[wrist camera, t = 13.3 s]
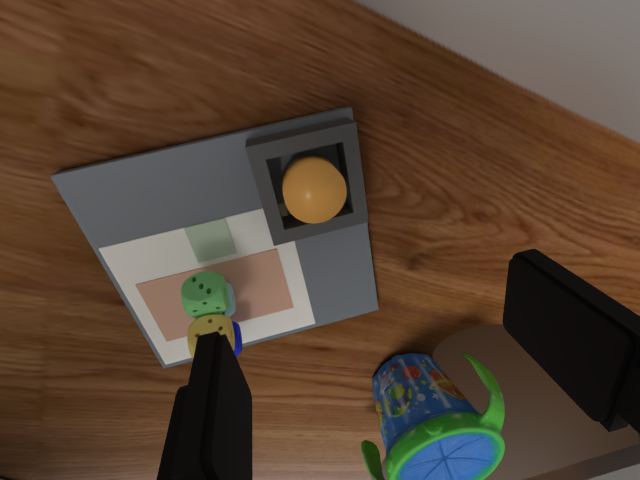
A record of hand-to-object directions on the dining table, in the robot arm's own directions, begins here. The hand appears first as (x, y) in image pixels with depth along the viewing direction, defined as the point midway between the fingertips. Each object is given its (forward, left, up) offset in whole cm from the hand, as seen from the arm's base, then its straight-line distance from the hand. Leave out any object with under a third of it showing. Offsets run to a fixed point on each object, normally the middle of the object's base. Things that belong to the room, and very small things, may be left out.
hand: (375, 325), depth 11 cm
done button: (0, 0, -14) cm, 14 cm away
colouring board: (-5, +6, -17) cm, 18 cm away
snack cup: (-25, -6, -17) cm, 31 cm away
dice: (-8, +9, -16) cm, 20 cm away
